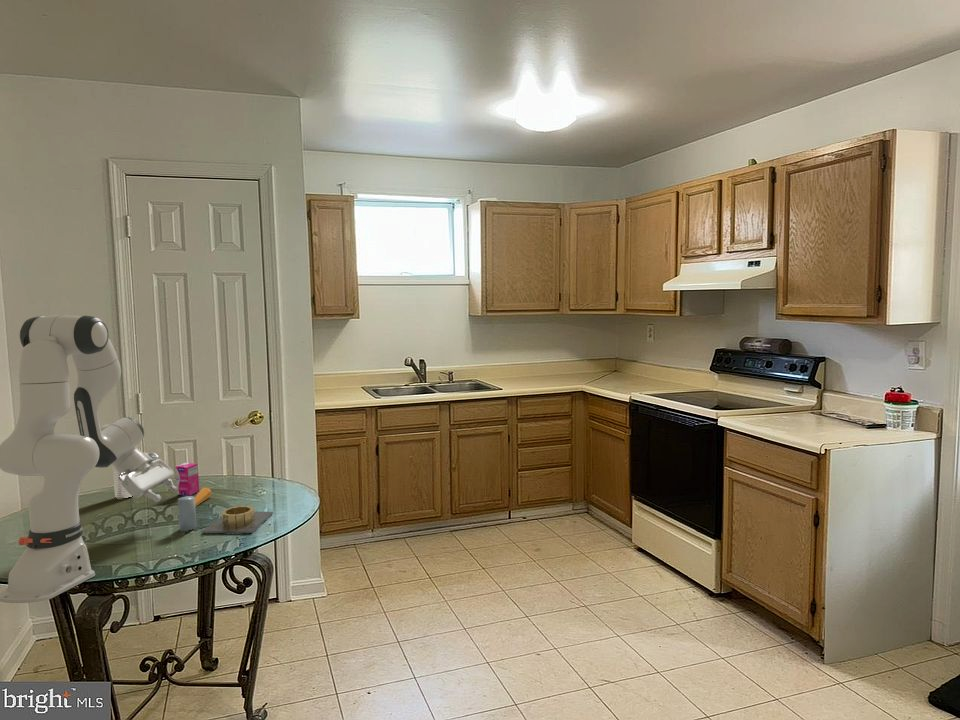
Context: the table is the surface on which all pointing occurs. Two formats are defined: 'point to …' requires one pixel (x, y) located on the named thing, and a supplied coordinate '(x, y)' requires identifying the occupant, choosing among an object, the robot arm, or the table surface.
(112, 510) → the table surface
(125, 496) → the water bottle
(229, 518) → the brass socket
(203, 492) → the carrot
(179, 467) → the supplement box
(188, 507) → the grey capsule peg
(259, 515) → the mounting plate
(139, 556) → the table surface
